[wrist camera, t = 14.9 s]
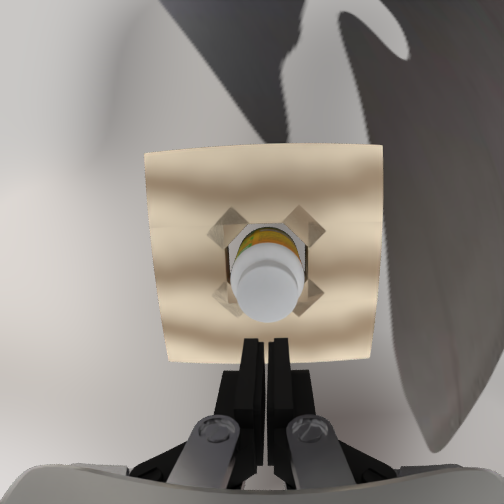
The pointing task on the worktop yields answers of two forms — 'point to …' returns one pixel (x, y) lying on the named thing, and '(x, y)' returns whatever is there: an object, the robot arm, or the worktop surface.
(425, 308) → the worktop surface
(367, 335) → the plate
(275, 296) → the supplement bottle
